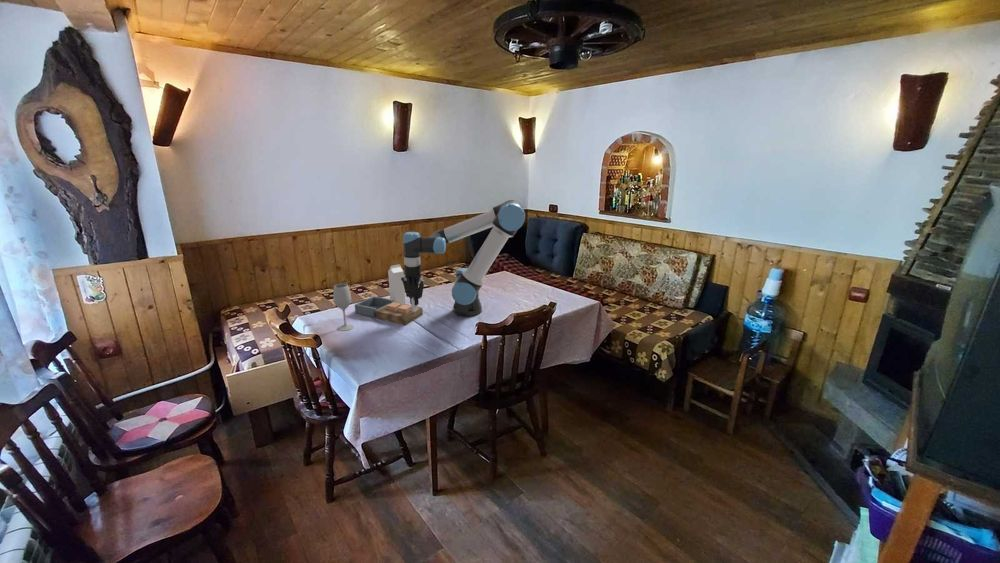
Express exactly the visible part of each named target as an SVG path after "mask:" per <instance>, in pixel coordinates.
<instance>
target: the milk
mask: <svg viewBox="0 0 1000 563" xmlns="http://www.w3.org/2000/svg"><path fill="white" fill-rule="evenodd" d="M389 267H390V268H389V269H388V270H387V274H388V286H389V288H388V289H389V299H391V300H393V302H397V303H402V304H406V292H405V289H404V285H403V282H402V280H401V278H402V277H404V276H405V270H403V268H402V266H401V264H395V265H391V266H389Z"/></svg>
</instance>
